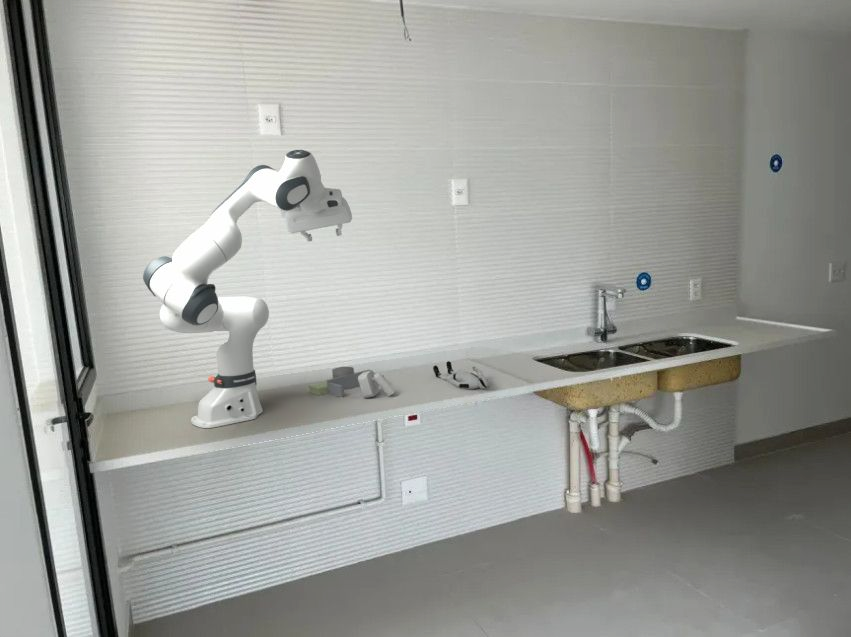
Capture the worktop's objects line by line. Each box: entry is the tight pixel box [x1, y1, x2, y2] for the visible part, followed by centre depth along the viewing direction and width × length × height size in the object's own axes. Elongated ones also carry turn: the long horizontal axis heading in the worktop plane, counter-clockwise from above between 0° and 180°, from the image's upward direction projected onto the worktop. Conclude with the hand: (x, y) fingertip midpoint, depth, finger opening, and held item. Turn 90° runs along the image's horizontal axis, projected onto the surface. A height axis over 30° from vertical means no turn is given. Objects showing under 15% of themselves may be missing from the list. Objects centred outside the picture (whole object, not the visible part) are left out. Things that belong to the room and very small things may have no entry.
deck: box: [308, 366, 385, 398], centre depth 230 cm, size 26×16×6 cm, turn 131°
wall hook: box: [358, 369, 396, 399], centre depth 217 cm, size 8×10×10 cm
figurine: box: [432, 360, 489, 391], centre depth 228 cm, size 13×6×30 cm
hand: (324, 237), depth 197 cm, fingers open, 8 cm apart
